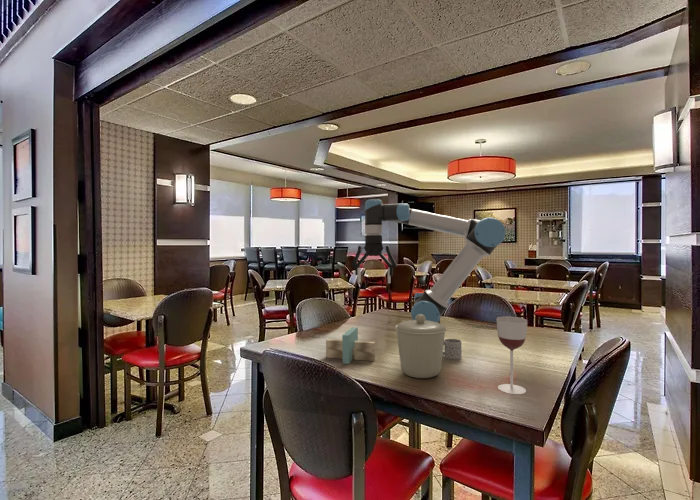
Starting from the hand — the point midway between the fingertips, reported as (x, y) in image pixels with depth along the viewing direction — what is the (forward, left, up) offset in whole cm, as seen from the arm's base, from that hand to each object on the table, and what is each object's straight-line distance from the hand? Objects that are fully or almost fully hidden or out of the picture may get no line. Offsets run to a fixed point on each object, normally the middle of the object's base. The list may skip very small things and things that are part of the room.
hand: (374, 282), depth 168 cm
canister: (-23, +29, -29) cm, 47 cm away
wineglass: (-52, +36, -29) cm, 70 cm away
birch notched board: (+6, +18, -29) cm, 34 cm away
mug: (-32, +6, -29) cm, 44 cm away
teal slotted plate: (+6, +18, -29) cm, 34 cm away
